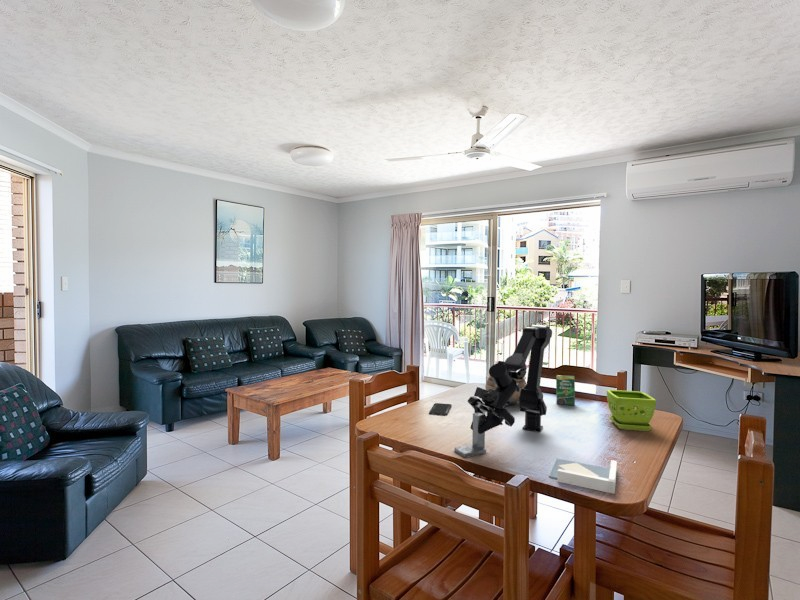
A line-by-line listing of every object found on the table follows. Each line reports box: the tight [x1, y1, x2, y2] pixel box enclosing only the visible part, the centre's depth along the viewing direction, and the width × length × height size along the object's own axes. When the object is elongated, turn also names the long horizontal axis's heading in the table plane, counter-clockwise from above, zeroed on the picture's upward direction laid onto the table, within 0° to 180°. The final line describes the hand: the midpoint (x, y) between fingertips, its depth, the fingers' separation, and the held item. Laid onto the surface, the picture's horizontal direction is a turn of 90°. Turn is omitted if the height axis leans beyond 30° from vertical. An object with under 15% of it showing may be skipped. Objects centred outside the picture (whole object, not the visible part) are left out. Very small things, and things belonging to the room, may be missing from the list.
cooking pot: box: [485, 373, 527, 406], centre depth 194 cm, size 25×19×12 cm
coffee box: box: [555, 374, 576, 406], centre depth 193 cm, size 8×3×13 cm, turn 70°
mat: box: [548, 458, 610, 480], centre depth 120 cm, size 14×15×1 cm
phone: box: [428, 402, 452, 417], centre depth 183 cm, size 8×1×15 cm
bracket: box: [454, 412, 487, 458], centre depth 136 cm, size 9×6×12 cm, turn 116°
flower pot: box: [606, 389, 657, 432], centre depth 162 cm, size 14×14×13 cm
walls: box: [557, 459, 618, 495], centre depth 119 cm, size 16×14×3 cm
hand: (475, 431), depth 136 cm, fingers open, 4 cm apart
